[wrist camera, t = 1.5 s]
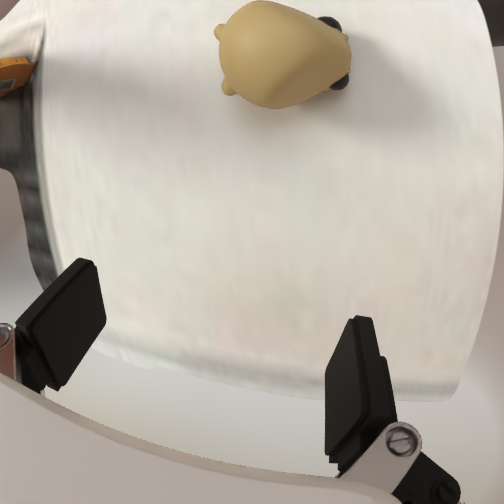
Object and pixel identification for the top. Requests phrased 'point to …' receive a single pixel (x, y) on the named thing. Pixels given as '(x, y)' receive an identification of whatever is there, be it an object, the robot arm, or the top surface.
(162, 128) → the top surface
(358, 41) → the top surface
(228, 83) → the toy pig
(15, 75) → the pancake mix bag
